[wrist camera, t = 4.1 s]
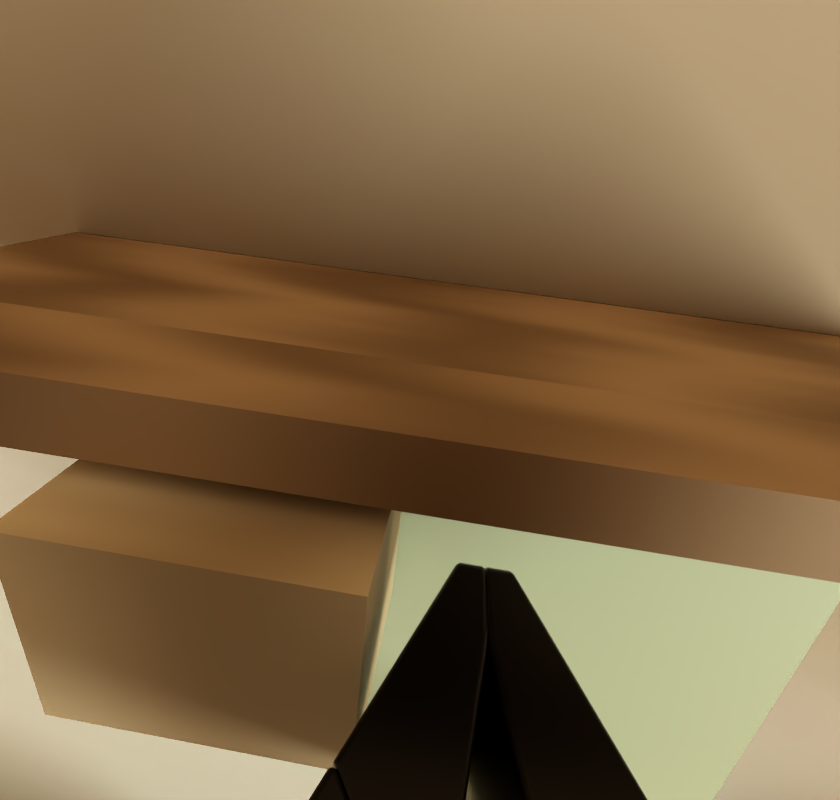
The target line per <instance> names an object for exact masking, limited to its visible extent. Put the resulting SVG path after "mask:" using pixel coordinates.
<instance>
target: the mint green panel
mask: <svg viewBox="0 0 840 800" xmlns="http://www.w3.org/2000/svg"><path fill="white" fill-rule="evenodd" d="M458 563H466V564H472V565H478V566H482V567H484V568H487V567H490V568H495V569H501V570H507V571H510V572H512V573H513V574H514V575H515V577H516V578H517V580H518V582H519V583H520V585H521V587H522V588H523V590H524V592H525V594H526V595H527V597H528V599H529V600H530V602H531V604H532V605H533V607H534V609H535V610H536V612H537V614H538V615H539V617H540V619H541V621H542V622H543V624H544V626H545V627H546V629H547V631H548V632H549V634H550V636H551V637H552V639H553V641H554V642H555V644H556V646H557V648H558V649H559V651H560V653H561V654H562V656H563V658H564V659H565V661H566V663H567V664H568V666H569V668H570V669H571V671H572V673H573V675H574V676H575V678H576V680H577V681H578V683H579V685H580V686H581V688H582V690H583V691H584V693H585V695H586V696H587V698H588V700H589V702H590V703H591V705H592V707H593V708H594V710H595V712H596V713H597V715H598V717H599V718H600V720H601V722H602V723H603V725H604V727H605V729H606V730H607V732H608V734H609V735H610V737H611V739H612V740H613V742H614V744H615V745H616V747H617V749H618V750H619V752H620V754H621V756H622V757H623V759H624V761H625V762H626V764H627V766H628V767H629V769H630V771H631V772H632V774H633V776H634V777H635V779H636V781H637V783H638V784H639V786H640V788H641V789H642V791H643V793H644V794H645V796H646V798H647V799H648V800H713V799H714V797H715V796H716V794H717V793H718V791H719V790H720V788H721V786H722V785H723V783H724V782H725V780H726V779H727V777H728V775H729V774H730V772H731V771H732V769H733V768H734V766H735V765H736V763H737V761H738V760H739V758H740V757H741V755H742V754H743V752H744V750H745V749H746V747H747V746H748V744H749V743H750V741H751V739H752V738H753V736H754V735H755V733H756V732H757V730H758V728H759V727H760V725H761V724H762V722H763V721H764V719H765V717H766V716H767V714H768V713H769V711H770V710H771V708H772V706H773V705H774V703H775V702H776V700H777V699H778V697H779V695H780V694H781V692H782V691H783V689H784V688H785V686H786V684H787V683H788V681H789V680H790V678H791V677H792V675H793V674H794V672H795V670H796V669H797V667H798V666H799V664H800V663H801V661H802V659H803V658H804V656H805V655H806V653H807V652H808V650H809V648H810V647H811V645H812V644H813V642H814V641H815V639H816V637H817V636H818V634H819V633H820V631H821V630H822V628H823V626H824V625H825V623H826V622H827V620H828V619H829V617H830V615H831V614H832V612H833V611H834V609H835V608H836V606H837V604H838V603H839V601H840V583H837V582H830V581H824V580H818V579H812V578H806V577H800V576H794V575H787V574H781V573H775V572H769V571H763V570H757V569H751V568H744V567H738V566H732V565H726V564H720V563H714V562H708V561H701V560H695V559H689V558H683V557H677V556H671V555H665V554H658V553H652V552H646V551H640V550H634V549H628V548H621V547H615V546H609V545H603V544H597V543H591V542H585V541H578V540H572V539H566V538H560V537H554V536H548V535H542V534H535V533H529V532H523V531H517V530H511V529H505V528H499V527H492V526H486V525H480V524H474V523H468V522H462V521H456V520H449V519H443V518H437V517H431V516H425V515H419V514H412V513H406V512H401V518H400V527H399V535H398V544H397V553H396V561H395V570H394V579H393V587H392V593H391V598H390V602H389V607H388V612H387V616H386V621H385V625H384V630H383V635H382V639H381V644H380V648H379V653H378V657H377V662H376V667H375V671H374V676H373V680H372V685H371V690H370V694H369V699H368V703H367V707H368V705H369V703H370V702H371V700H372V699H373V697H374V695H375V694H376V692H377V691H378V689H379V687H380V686H381V684H382V682H383V681H384V679H385V678H386V676H387V674H388V673H389V671H390V670H391V668H392V666H393V665H394V663H395V662H396V660H397V658H398V657H399V655H400V654H401V652H402V650H403V649H404V647H405V646H406V644H407V642H408V641H409V639H410V638H411V636H412V634H413V633H414V631H415V629H416V628H417V626H418V625H419V623H420V621H421V620H422V618H423V617H424V615H425V613H426V612H427V610H428V609H429V607H430V605H431V604H432V602H433V601H434V599H435V597H436V596H437V594H438V593H439V591H440V589H441V588H442V586H443V584H444V583H445V581H446V580H447V578H448V576H449V575H450V573H451V572H452V570H453V568H454V567H455V565H457V564H458Z"/></svg>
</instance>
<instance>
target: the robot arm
mask: <svg viewBox="0 0 840 800" xmlns="http://www.w3.org/2000/svg"><path fill="white" fill-rule="evenodd" d="M309 800H648V799H647V798H646V796H645V794H644V793H643V791H642V789H641V788H640V786H639V784H638V783H637V781H636V779H635V777H634V776H633V774H632V772H631V771H630V769H629V767H628V766H627V764H626V762H625V761H624V759H623V757H622V756H621V754H620V752H619V750H618V749H617V747H616V745H615V744H614V742H613V740H612V739H611V737H610V735H609V734H608V732H607V730H606V729H605V727H604V725H603V723H602V722H601V720H600V718H599V717H598V715H597V713H596V712H595V710H594V708H593V707H592V705H591V703H590V702H589V700H588V698H587V696H586V695H585V693H584V691H583V690H582V688H581V686H580V685H579V683H578V681H577V680H576V678H575V676H574V675H573V673H572V671H571V669H570V668H569V666H568V664H567V663H566V661H565V659H564V658H563V656H562V654H561V653H560V651H559V649H558V648H557V646H556V644H555V642H554V641H553V639H552V637H551V636H550V634H549V632H548V631H547V629H546V627H545V626H544V624H543V622H542V621H541V619H540V617H539V615H538V614H537V612H536V610H535V609H534V607H533V605H532V604H531V602H530V600H529V599H528V597H527V595H526V594H525V592H524V590H523V588H522V587H521V585H520V583H519V582H518V580H517V578H516V577H515V575H514V574H513V573H512V572H510V571H507V570H501V569H495V568H490V567H487V568H484V567H482V566H478V565H472V564H466V563H458V564H457V565H455V567H454V568H453V570H452V572H451V573H450V575H449V576H448V578H447V580H446V581H445V583H444V584H443V586H442V588H441V589H440V591H439V593H438V594H437V596H436V597H435V599H434V601H433V602H432V604H431V605H430V607H429V609H428V610H427V612H426V613H425V615H424V617H423V618H422V620H421V621H420V623H419V625H418V626H417V628H416V629H415V631H414V633H413V634H412V636H411V638H410V639H409V641H408V642H407V644H406V646H405V647H404V649H403V650H402V652H401V654H400V655H399V657H398V658H397V660H396V662H395V663H394V665H393V666H392V668H391V670H390V671H389V673H388V674H387V676H386V678H385V679H384V681H383V682H382V684H381V686H380V687H379V689H378V691H377V692H376V694H375V695H374V697H373V699H372V700H371V702H370V703H369V705H368V707H367V708H366V710H365V711H364V713H363V715H362V716H361V718H360V719H359V721H358V723H357V724H356V726H355V727H354V729H353V731H352V732H351V734H350V736H349V737H348V739H347V740H346V742H345V744H344V745H343V747H342V748H341V750H340V752H339V753H338V755H337V756H336V758H335V760H334V762H333V767H330V768H329V769H328V770H327V772H326V773H325V775H324V776H323V778H322V780H321V781H320V783H319V784H318V786H317V788H316V789H315V791H314V792H313V794H312V796H311V797H310V799H309Z"/></svg>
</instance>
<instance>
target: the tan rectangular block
mask: <svg viewBox="0 0 840 800" xmlns="http://www.w3.org/2000/svg"><path fill="white" fill-rule="evenodd" d="M400 518H401V512H400V511H394V510H388V509H382V508H376V507H369V506H363V505H357V504H351V503H345V502H339V501H333V500H326V499H320V498H314V497H308V496H302V495H296V494H290V493H283V492H277V491H271V490H265V489H259V488H253V487H247V486H240V485H234V484H228V483H222V482H216V481H210V480H203V479H197V478H191V477H185V476H179V475H173V474H167V473H160V472H154V471H148V470H142V469H136V468H130V467H124V466H117V465H111V464H105V463H99V462H93V461H87V460H81V459H79V460H78V461H76V462H75V463H74V464H72V465H71V466H70V467H68V468H67V469H66V470H64V471H63V472H62V473H60V474H59V475H58V476H56V477H55V478H54V479H52V480H51V481H50V482H48V483H47V484H46V485H44V486H43V487H42V488H40V489H39V490H38V491H36V492H35V493H34V494H32V495H31V496H30V497H28V498H27V499H26V500H24V501H23V502H22V503H20V504H19V505H18V506H16V507H15V508H14V509H12V510H11V511H10V512H8V513H7V514H6V515H4V516H3V517H2V518H0V579H1V582H2V585H3V588H4V592H5V595H6V598H7V601H8V604H9V607H10V610H11V613H12V616H13V619H14V622H15V625H16V628H17V631H18V634H19V637H20V640H21V643H22V646H23V649H24V652H25V655H26V658H27V661H28V664H29V667H30V670H31V673H32V676H33V679H34V682H35V685H36V688H37V691H38V694H39V697H40V700H41V703H42V706H43V709H44V712H45V714H46V715H51V716H56V717H61V718H66V719H72V720H77V721H82V722H87V723H92V724H97V725H103V726H108V727H113V728H118V729H123V730H128V731H134V732H139V733H144V734H149V735H154V736H159V737H165V738H170V739H175V740H180V741H185V742H190V743H196V744H201V745H206V746H211V747H216V748H221V749H227V750H232V751H237V752H242V753H247V754H252V755H258V756H263V757H268V758H273V759H278V760H283V761H289V762H294V763H299V764H304V765H309V766H314V767H320V768H325V769H329V768H330V767H333V762H334V760H335V758H336V756H337V755H338V753H339V752H340V750H341V748H342V747H343V745H344V744H345V742H346V740H347V739H348V737H349V736H350V734H351V732H352V731H353V729H354V727H355V726H356V724H357V723H358V721H359V719H360V718H361V716H362V715H363V713H364V711H365V710H366V708H367V703H368V699H369V694H370V690H371V685H372V680H373V676H374V671H375V667H376V662H377V657H378V653H379V648H380V644H381V639H382V635H383V630H384V625H385V621H386V616H387V612H388V607H389V602H390V598H391V593H392V587H393V579H394V570H395V561H396V553H397V544H398V535H399V527H400Z"/></svg>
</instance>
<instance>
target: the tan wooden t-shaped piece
mask: <svg viewBox="0 0 840 800" xmlns="http://www.w3.org/2000/svg"><path fill="white" fill-rule="evenodd" d="M0 446H1V447H7V448H13V449H19V450H25V451H31V452H38V453H44V454H50V455H56V456H62V457H68V458H74V459H81V460H87V461H93V462H99V463H105V464H111V465H117V466H124V467H130V468H136V469H142V470H148V471H154V472H160V473H167V474H173V475H179V476H185V477H191V478H197V479H203V480H210V481H216V482H222V483H228V484H234V485H240V486H247V487H253V488H259V489H265V490H271V491H277V492H283V493H290V494H296V495H302V496H308V497H314V498H320V499H326V500H333V501H339V502H345V503H351V504H357V505H363V506H369V507H376V508H382V509H388V510H394V511H400V512H406V513H412V514H419V515H425V516H431V517H437V518H443V519H449V520H456V521H462V522H468V523H474V524H480V525H486V526H492V527H499V528H505V529H511V530H517V531H523V532H529V533H535V534H542V535H548V536H554V537H560V538H566V539H572V540H578V541H585V542H591V543H597V544H603V545H609V546H615V547H621V548H628V549H634V550H640V551H646V552H652V553H658V554H665V555H671V556H677V557H683V558H689V559H695V560H701V561H708V562H714V563H720V564H726V565H732V566H738V567H744V568H751V569H757V570H763V571H769V572H775V573H781V574H787V575H794V576H800V577H806V578H812V579H818V580H824V581H830V582H837V583H840V336H834V335H826V334H819V333H812V332H804V331H797V330H789V329H782V328H775V327H767V326H760V325H753V324H745V323H738V322H731V321H723V320H716V319H709V318H701V317H694V316H687V315H679V314H672V313H664V312H657V311H650V310H642V309H635V308H628V307H620V306H613V305H606V304H598V303H591V302H584V301H576V300H569V299H562V298H554V297H547V296H539V295H532V294H525V293H517V292H510V291H503V290H495V289H488V288H481V287H473V286H466V285H459V284H451V283H444V282H437V281H429V280H422V279H415V278H407V277H400V276H392V275H385V274H378V273H370V272H363V271H356V270H348V269H341V268H334V267H326V266H319V265H312V264H304V263H297V262H290V261H282V260H275V259H267V258H260V257H253V256H245V255H238V254H231V253H223V252H216V251H209V250H201V249H194V248H187V247H179V246H172V245H165V244H157V243H150V242H143V241H135V240H128V239H120V238H113V237H106V236H98V235H91V234H84V233H76V232H75V233H70V234H65V235H60V236H55V237H49V238H44V239H39V240H34V241H29V242H23V243H18V244H13V245H8V246H3V247H0Z"/></svg>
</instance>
